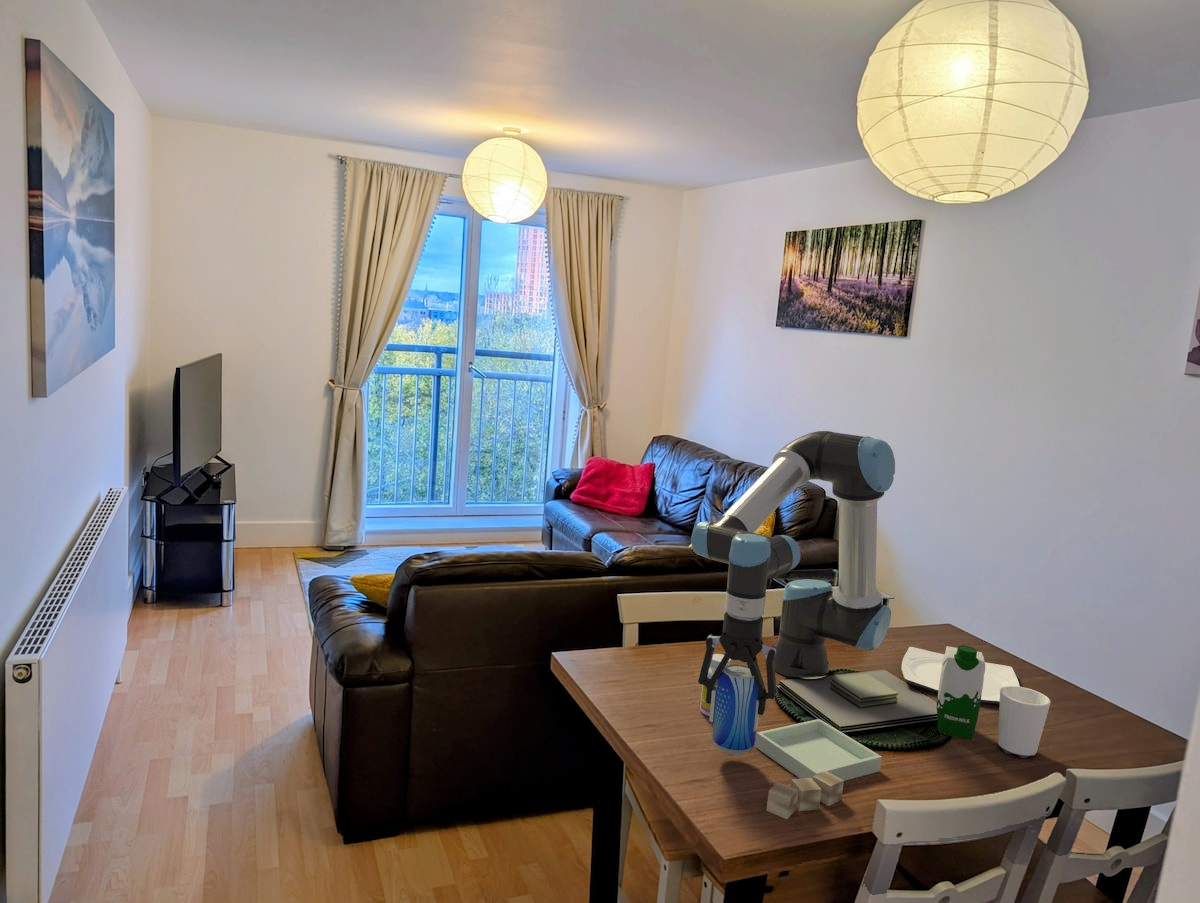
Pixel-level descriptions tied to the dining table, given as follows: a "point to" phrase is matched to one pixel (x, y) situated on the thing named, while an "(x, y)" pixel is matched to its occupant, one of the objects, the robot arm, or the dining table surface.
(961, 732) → the milk carton
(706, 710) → the supplement bottle
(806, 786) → the beech cube
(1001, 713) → the cup
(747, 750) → the beer can
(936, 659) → the plate
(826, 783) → the beech cube
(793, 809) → the beech cube
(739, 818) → the dining table surface
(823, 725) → the tray
